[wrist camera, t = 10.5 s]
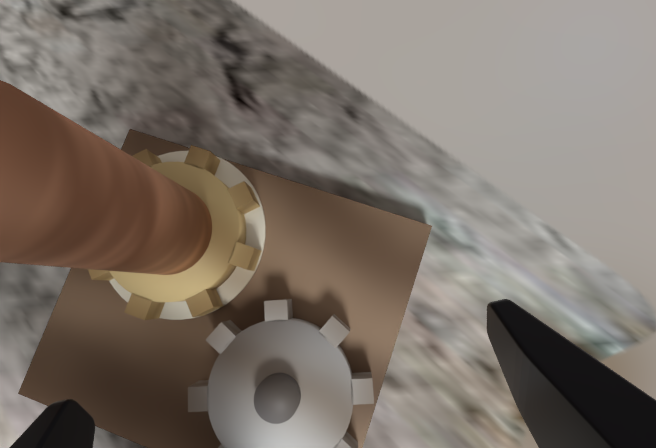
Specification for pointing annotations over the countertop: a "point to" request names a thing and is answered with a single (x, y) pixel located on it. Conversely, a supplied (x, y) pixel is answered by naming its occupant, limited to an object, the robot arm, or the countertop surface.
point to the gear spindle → (118, 211)
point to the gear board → (180, 352)
